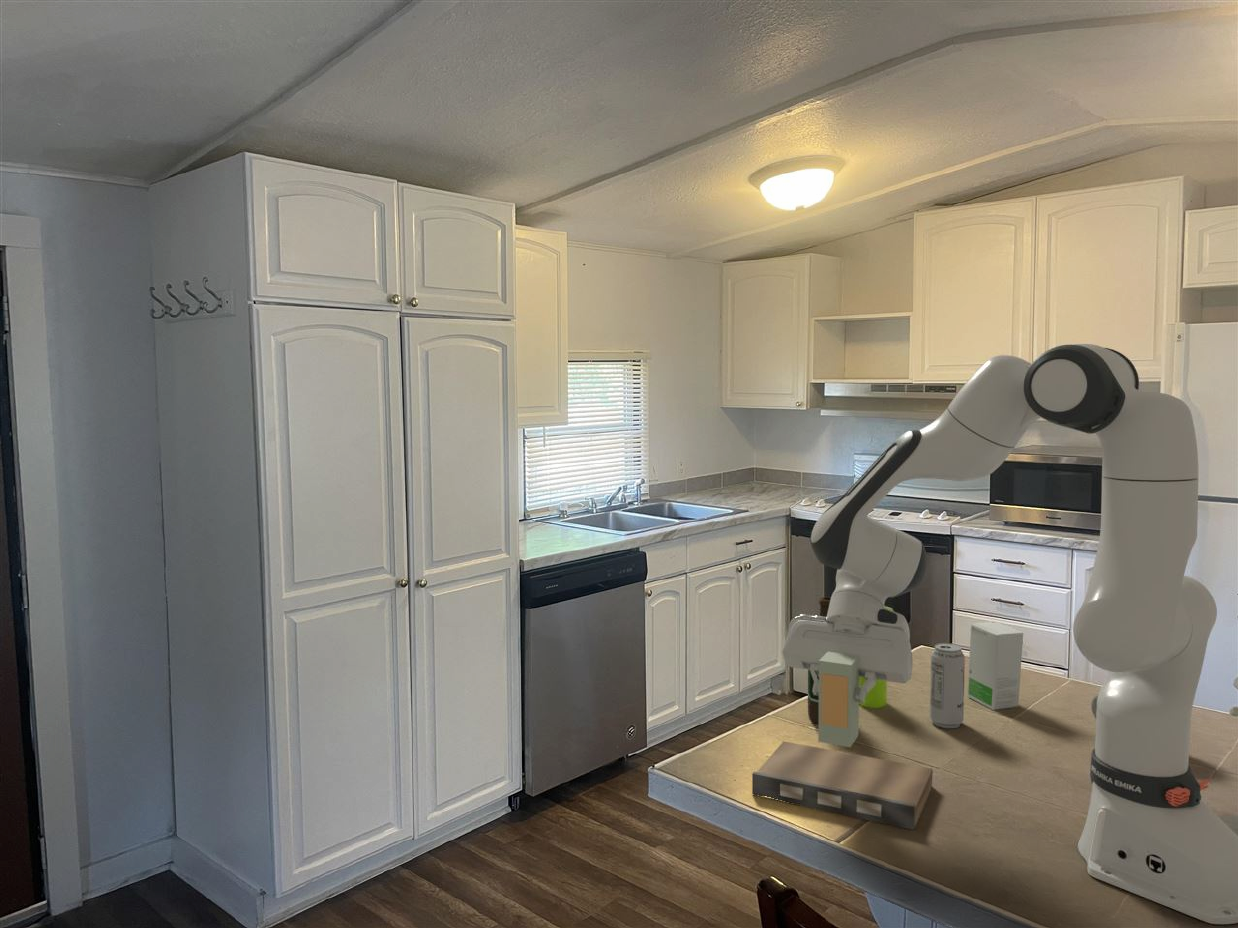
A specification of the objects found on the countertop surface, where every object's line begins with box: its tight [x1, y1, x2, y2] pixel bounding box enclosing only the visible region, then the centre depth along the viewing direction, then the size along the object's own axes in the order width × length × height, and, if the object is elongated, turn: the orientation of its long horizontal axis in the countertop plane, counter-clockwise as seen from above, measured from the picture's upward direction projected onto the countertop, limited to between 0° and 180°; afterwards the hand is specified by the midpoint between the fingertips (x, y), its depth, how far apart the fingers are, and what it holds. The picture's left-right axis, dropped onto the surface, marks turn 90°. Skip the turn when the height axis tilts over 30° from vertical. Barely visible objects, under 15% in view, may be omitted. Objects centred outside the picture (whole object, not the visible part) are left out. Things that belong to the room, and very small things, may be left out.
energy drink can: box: [929, 642, 966, 729], centre depth 173 cm, size 6×6×15 cm
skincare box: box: [966, 620, 1024, 711], centre depth 184 cm, size 8×7×16 cm
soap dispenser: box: [859, 605, 894, 709], centre depth 184 cm, size 6×7×20 cm
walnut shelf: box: [751, 741, 933, 831], centre depth 146 cm, size 25×16×4 cm, turn 62°
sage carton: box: [817, 652, 860, 748], centre depth 142 cm, size 5×5×13 cm
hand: (837, 697), depth 142 cm, fingers closed on sage carton, 5 cm apart
